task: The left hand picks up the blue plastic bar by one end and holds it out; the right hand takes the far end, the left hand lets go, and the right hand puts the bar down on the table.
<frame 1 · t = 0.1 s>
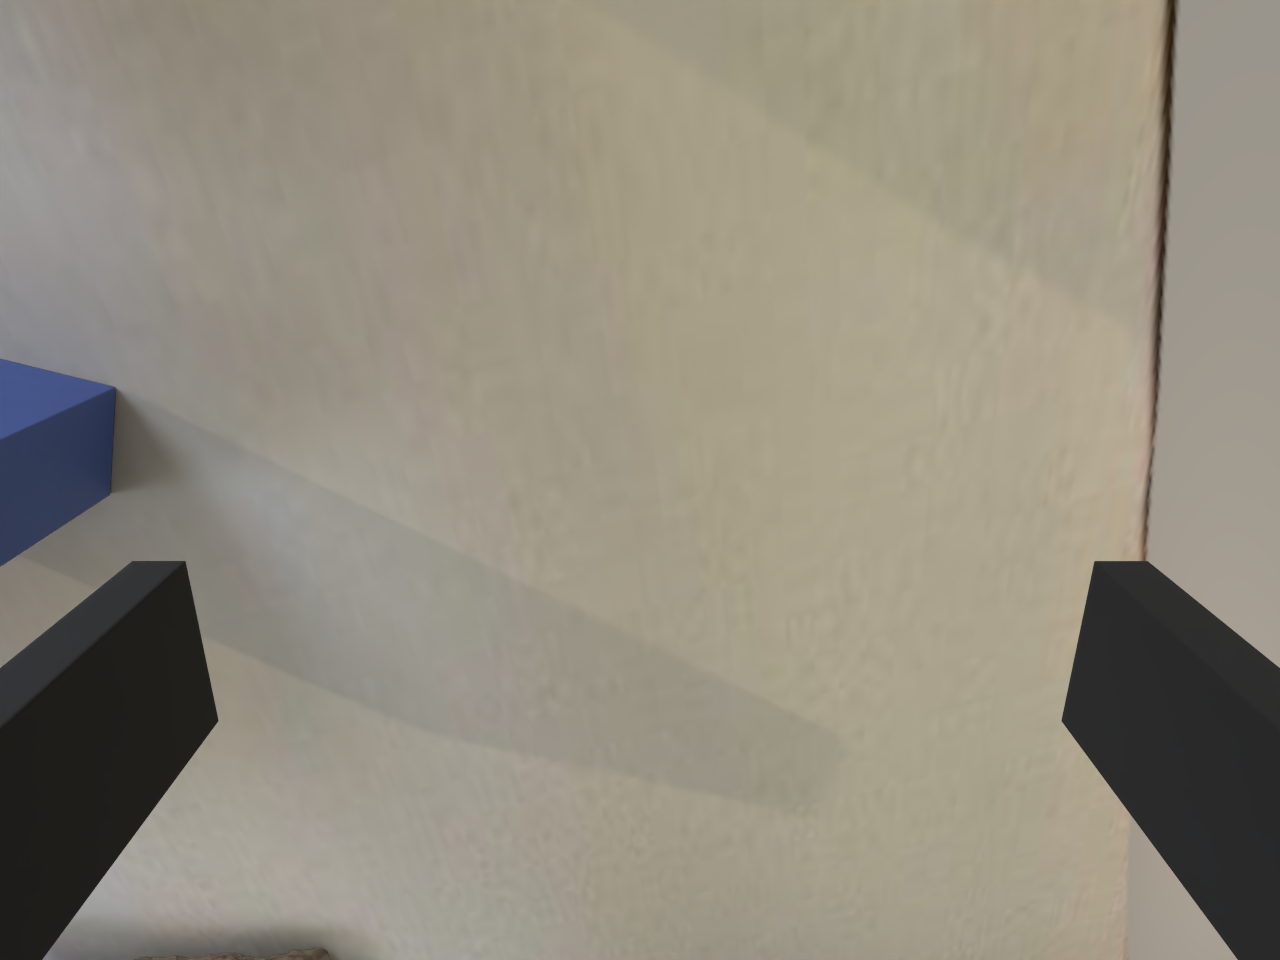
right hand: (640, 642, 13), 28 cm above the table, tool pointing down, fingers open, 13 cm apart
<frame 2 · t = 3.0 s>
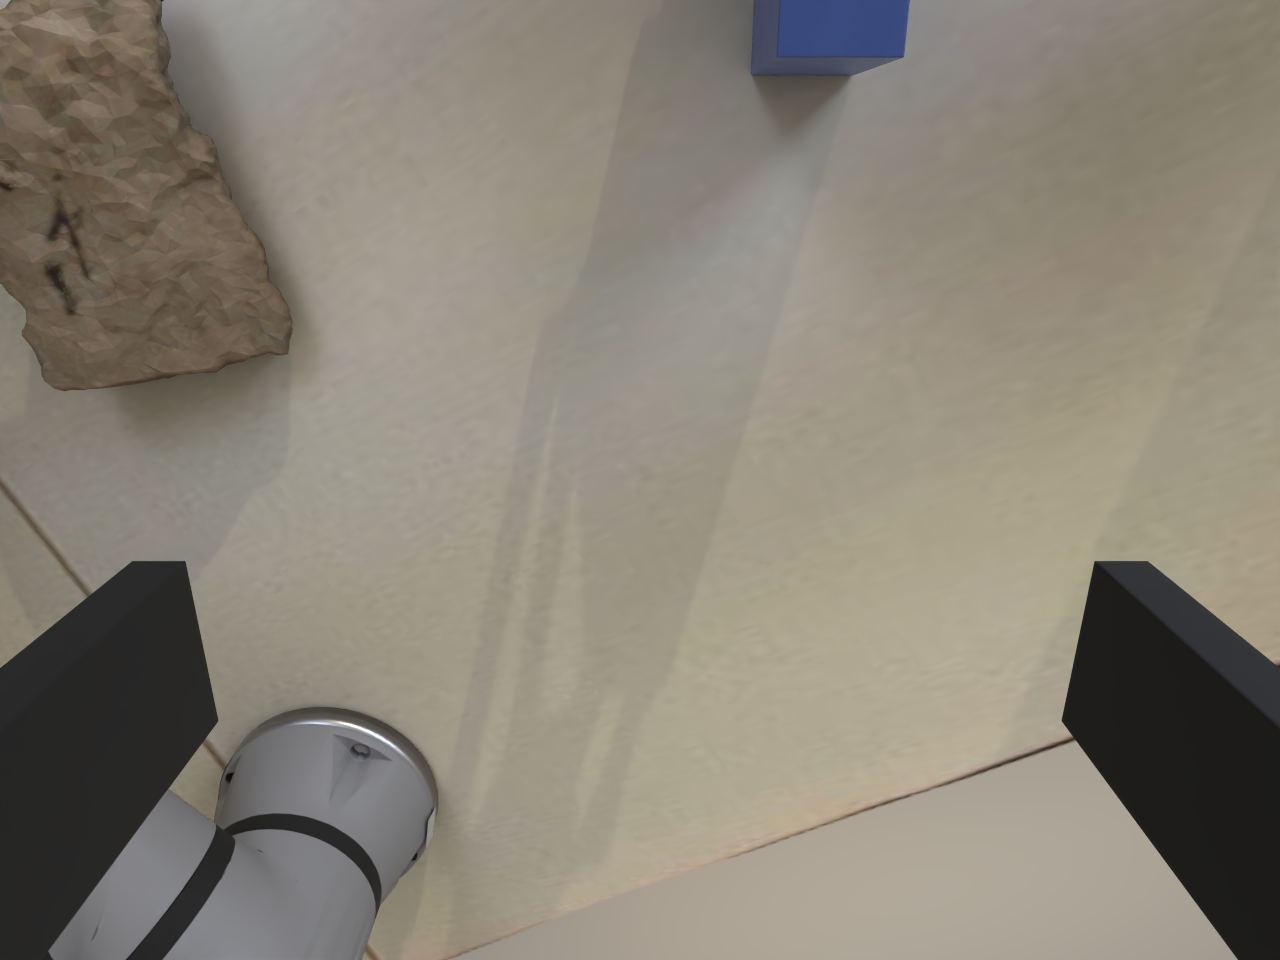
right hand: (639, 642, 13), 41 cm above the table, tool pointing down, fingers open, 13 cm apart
stone: (137, 197, 49), on the table
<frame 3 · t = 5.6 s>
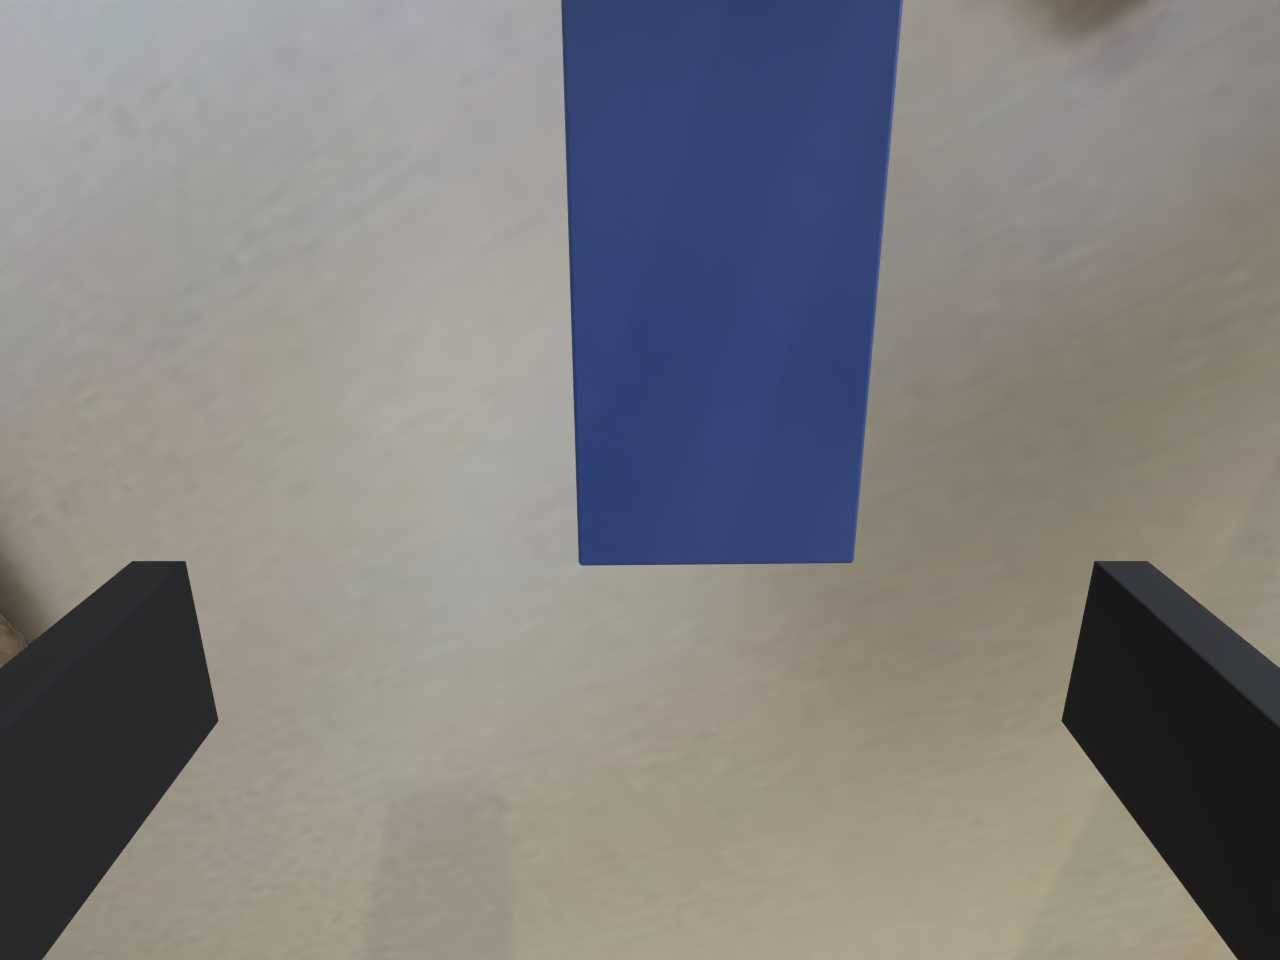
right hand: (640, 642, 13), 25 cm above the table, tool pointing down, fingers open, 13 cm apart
bar: (693, 16, 23), point 11 cm above the table, touching left hand
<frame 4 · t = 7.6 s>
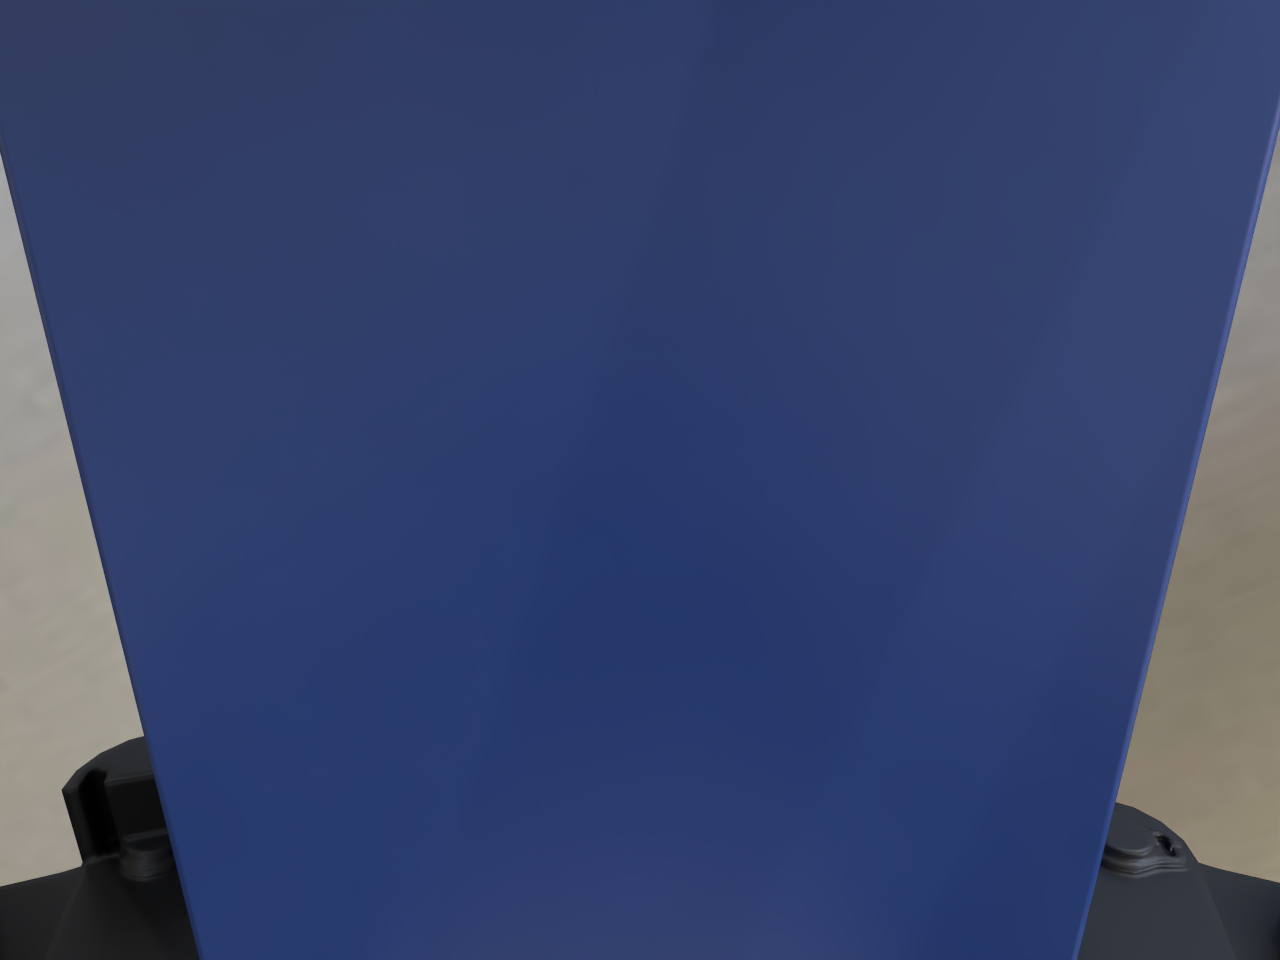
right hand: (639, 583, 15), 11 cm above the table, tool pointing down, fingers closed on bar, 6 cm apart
bar: (640, 122, 13), point 11 cm above the table, touching right hand, left hand
when the left hand's fingers open (11 cm above the table, at t = 8.3 s): bar stays where it is, held by the right hand.
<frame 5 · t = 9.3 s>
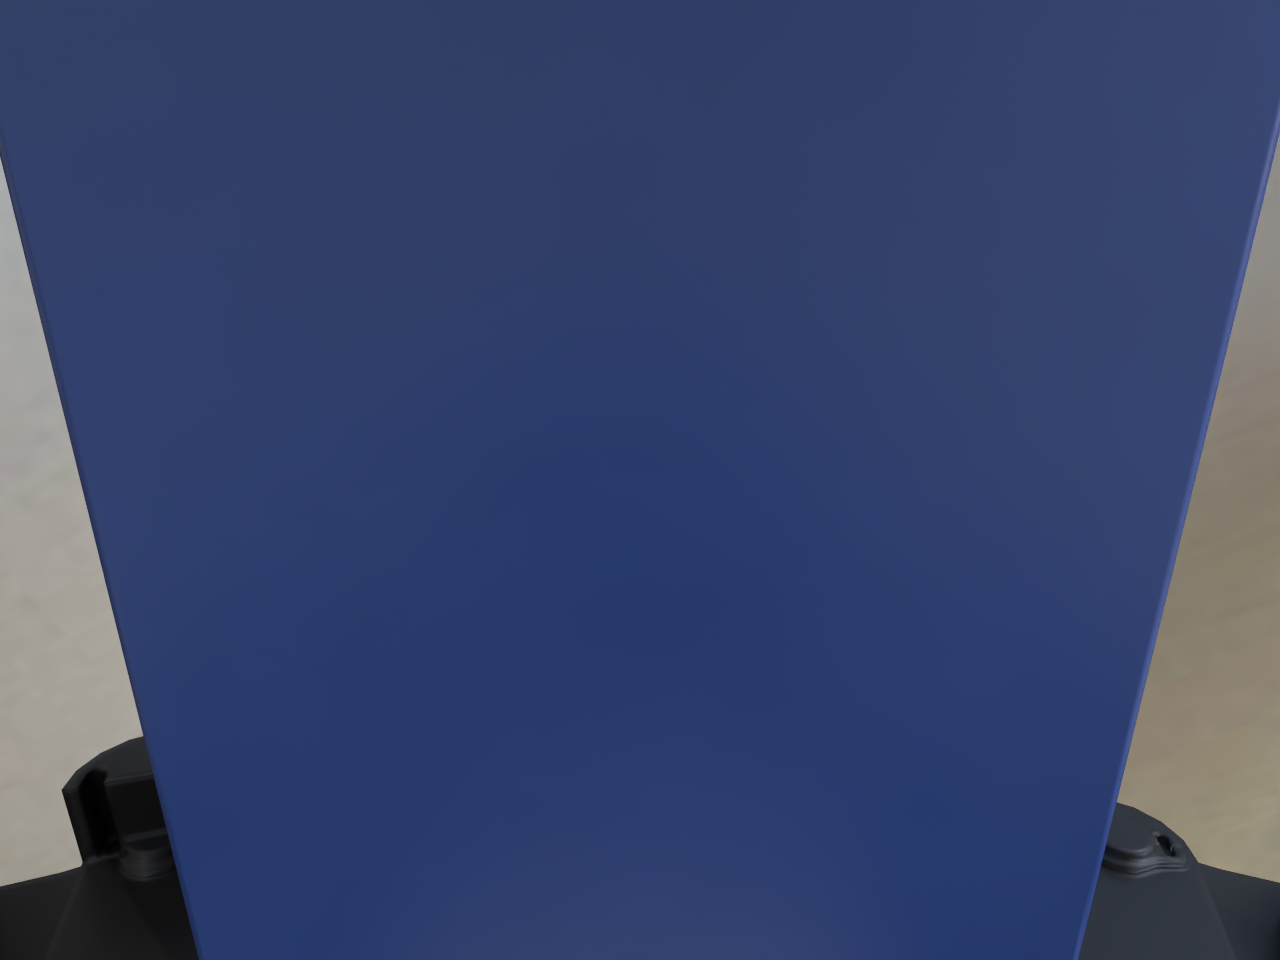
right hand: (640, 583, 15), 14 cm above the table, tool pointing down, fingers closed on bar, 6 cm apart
bar: (640, 121, 13), point 13 cm above the table, touching right hand
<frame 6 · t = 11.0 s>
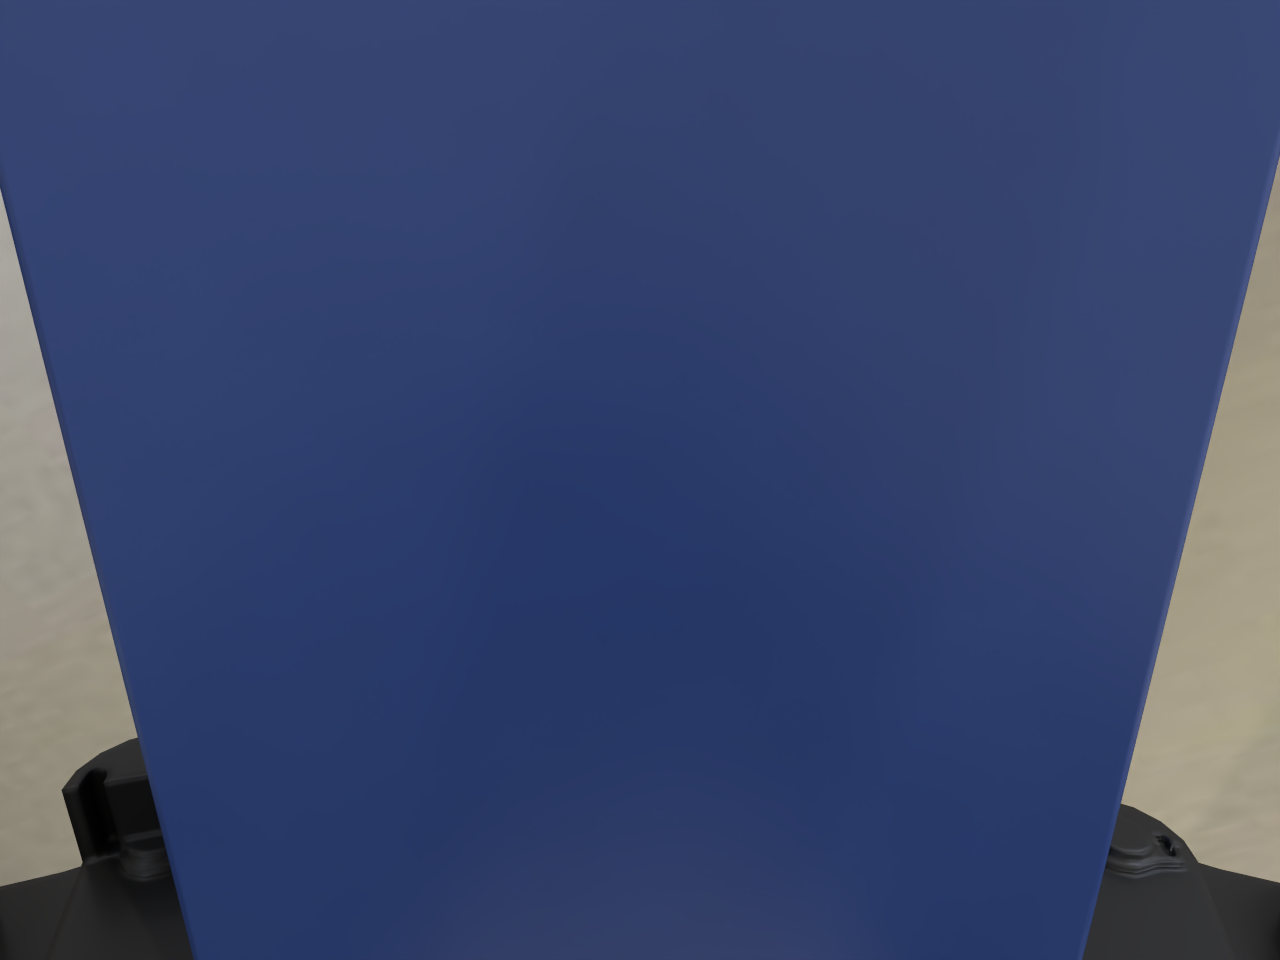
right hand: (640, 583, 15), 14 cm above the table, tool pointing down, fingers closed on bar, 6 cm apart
bar: (639, 123, 13), point 13 cm above the table, touching right hand
when the right hand's fingers open (2 cm above the table, at t = 12.6 s): bar stays where it is, on the table.
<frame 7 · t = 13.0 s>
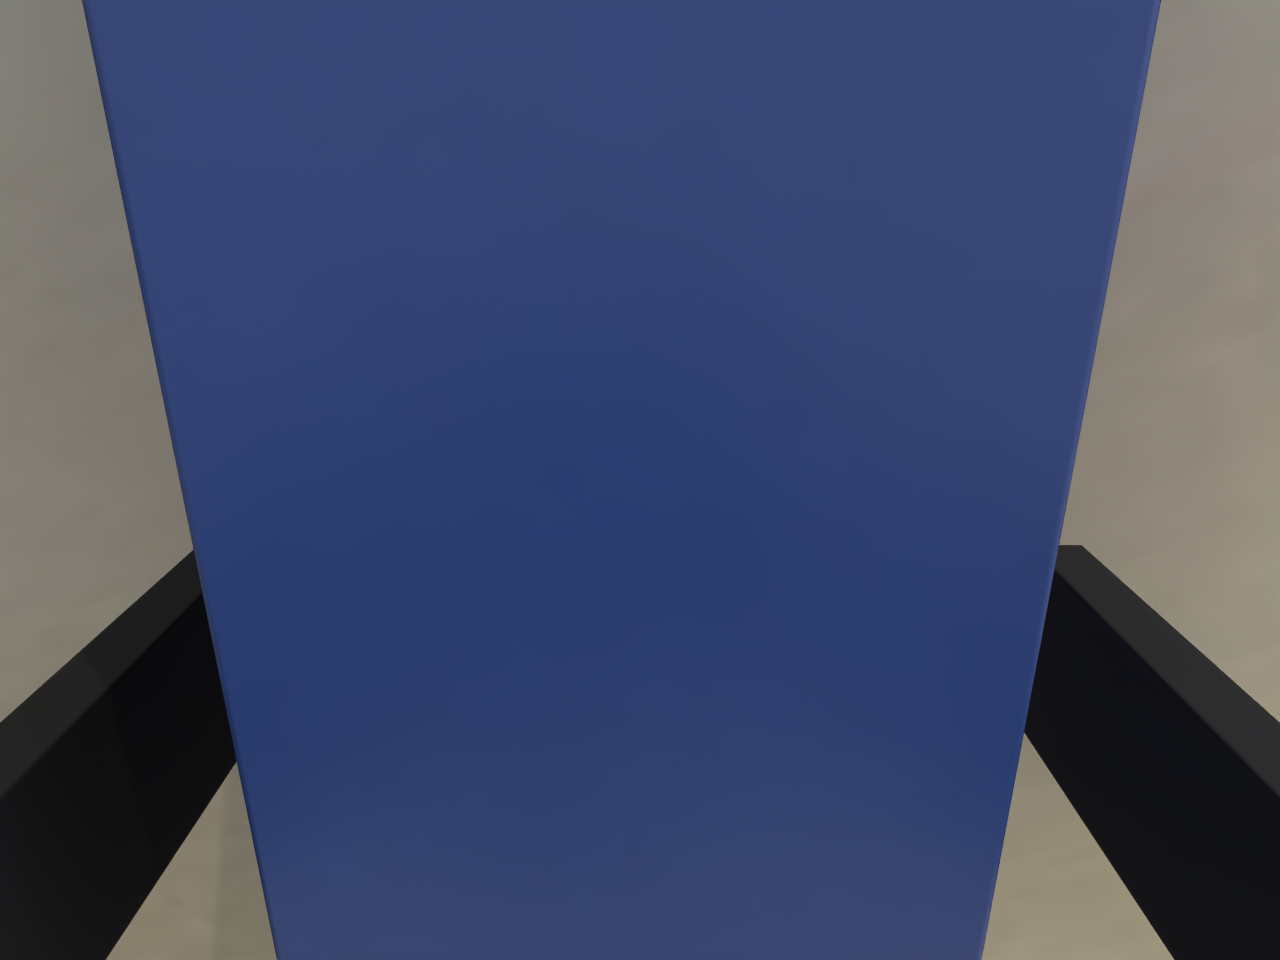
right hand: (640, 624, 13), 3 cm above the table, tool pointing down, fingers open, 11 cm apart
bar: (634, 134, 14), on the table
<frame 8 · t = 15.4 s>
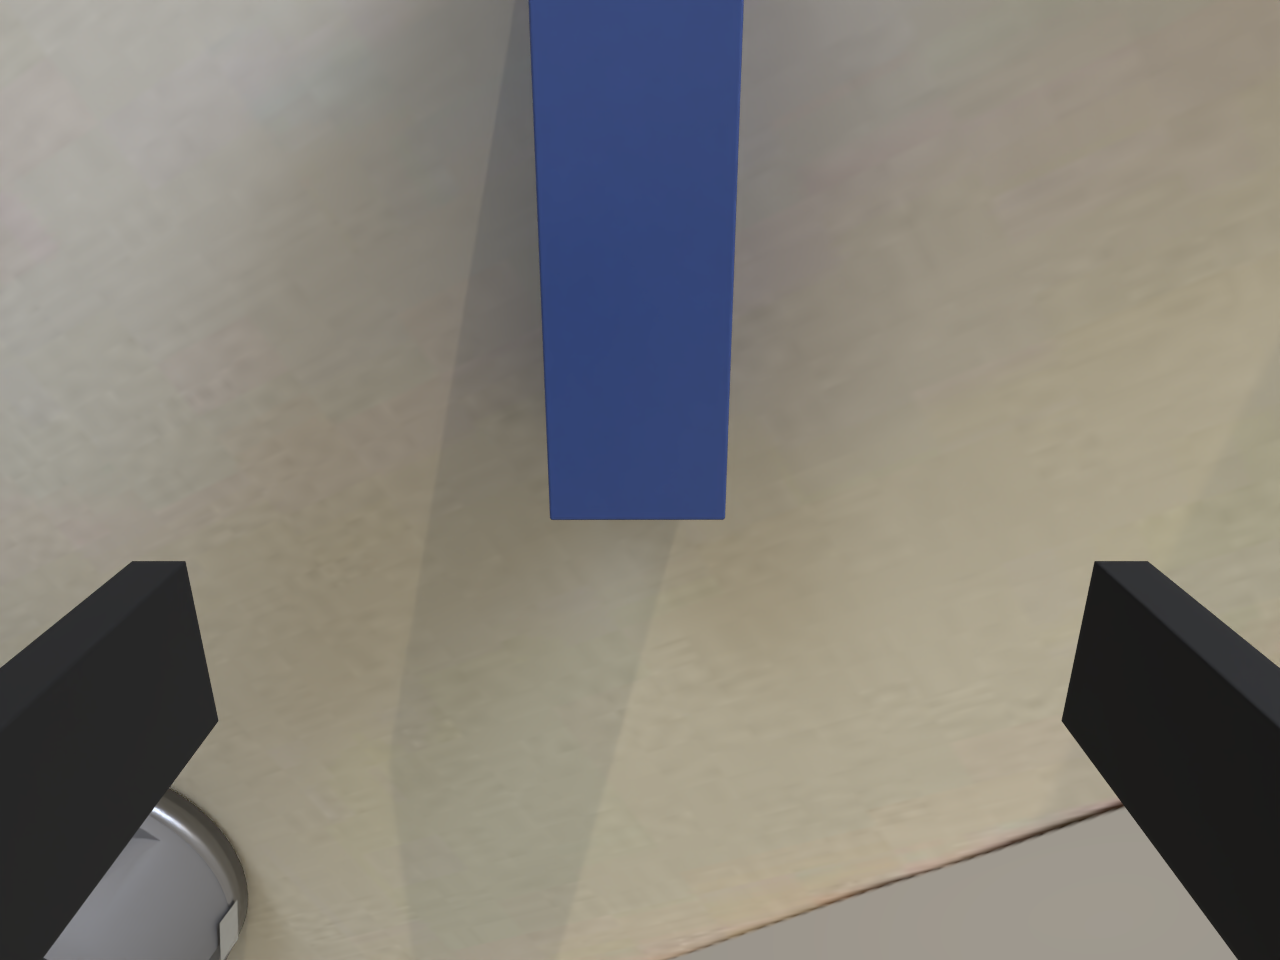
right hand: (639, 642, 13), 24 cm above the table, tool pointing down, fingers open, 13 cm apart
bar: (637, 143, 33), on the table
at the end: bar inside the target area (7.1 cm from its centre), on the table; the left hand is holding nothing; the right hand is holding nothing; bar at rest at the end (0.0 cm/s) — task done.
